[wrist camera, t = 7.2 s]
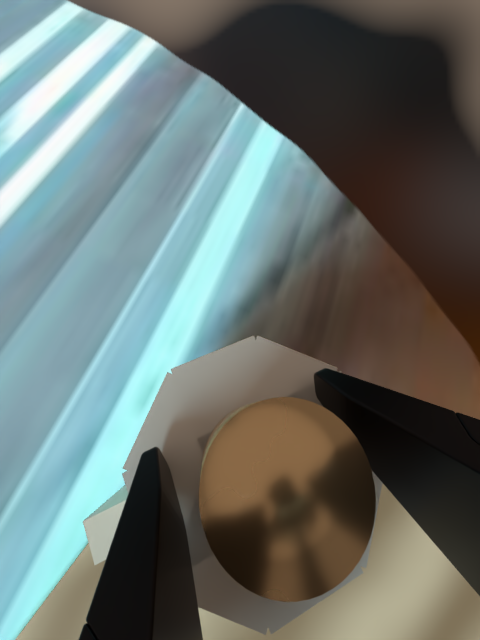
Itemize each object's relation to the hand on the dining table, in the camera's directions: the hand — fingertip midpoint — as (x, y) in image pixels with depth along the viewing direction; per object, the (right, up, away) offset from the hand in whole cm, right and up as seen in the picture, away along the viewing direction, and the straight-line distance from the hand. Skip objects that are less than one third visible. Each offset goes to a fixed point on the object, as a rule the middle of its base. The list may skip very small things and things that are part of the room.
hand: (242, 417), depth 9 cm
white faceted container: (-1, -4, +7) cm, 8 cm away
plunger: (0, -3, +6) cm, 7 cm away
